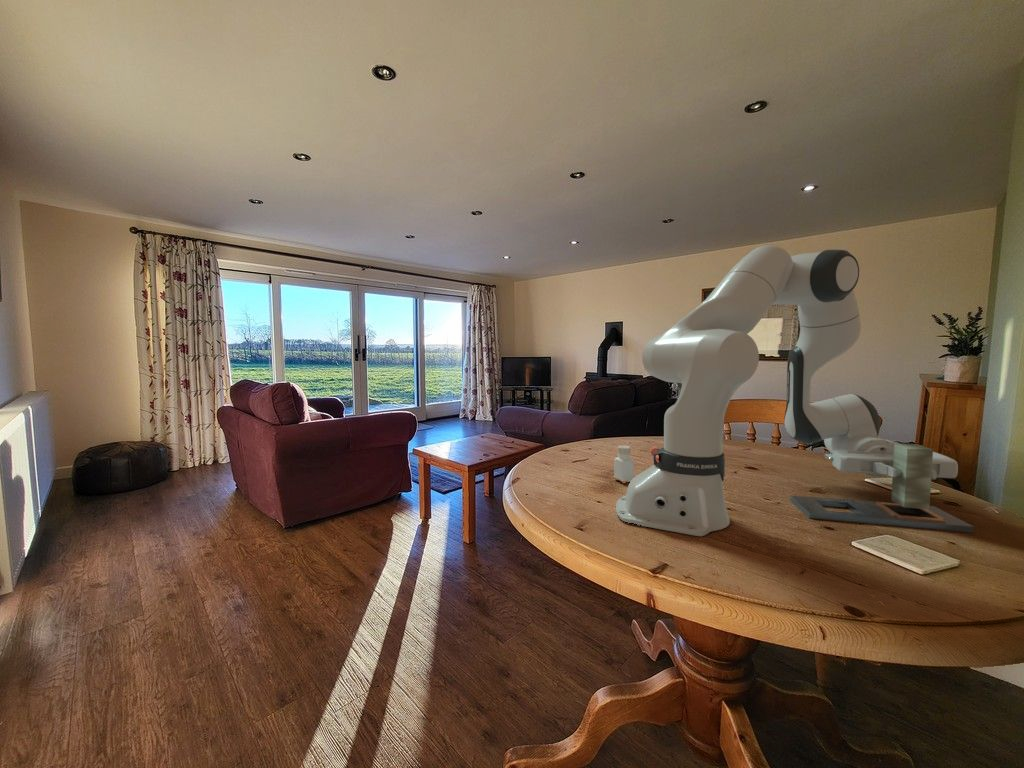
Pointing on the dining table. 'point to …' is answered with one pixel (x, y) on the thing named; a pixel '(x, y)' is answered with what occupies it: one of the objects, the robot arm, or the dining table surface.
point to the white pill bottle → (624, 464)
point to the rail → (880, 514)
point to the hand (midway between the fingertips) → (914, 474)
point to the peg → (912, 476)
